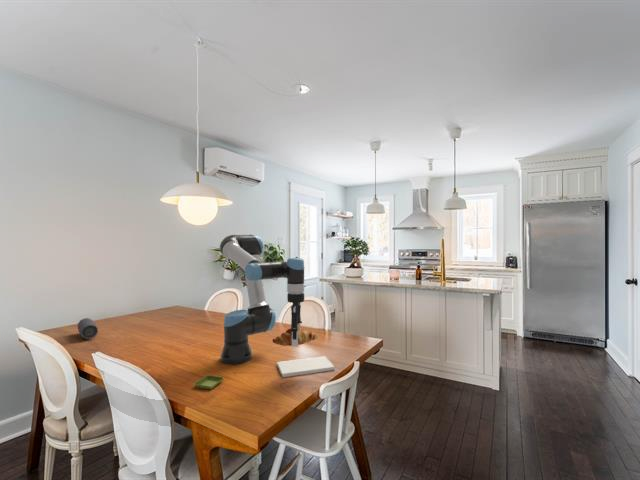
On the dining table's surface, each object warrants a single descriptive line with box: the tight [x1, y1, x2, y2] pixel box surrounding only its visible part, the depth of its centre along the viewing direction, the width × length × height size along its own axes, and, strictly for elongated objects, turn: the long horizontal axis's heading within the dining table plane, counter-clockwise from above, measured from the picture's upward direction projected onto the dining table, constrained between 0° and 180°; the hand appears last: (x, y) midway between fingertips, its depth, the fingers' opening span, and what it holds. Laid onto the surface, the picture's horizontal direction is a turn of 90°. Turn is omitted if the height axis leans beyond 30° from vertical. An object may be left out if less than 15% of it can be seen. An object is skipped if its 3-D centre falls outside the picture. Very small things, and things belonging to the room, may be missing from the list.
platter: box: [276, 355, 336, 378], centre depth 148 cm, size 24×14×2 cm, turn 107°
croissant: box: [272, 328, 318, 347], centre depth 142 cm, size 21×10×8 cm, turn 115°
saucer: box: [193, 374, 225, 390], centre depth 131 cm, size 9×9×2 cm
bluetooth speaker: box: [77, 317, 99, 340], centre depth 199 cm, size 23×9×10 cm, turn 42°
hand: (296, 342), depth 142 cm, fingers closed on croissant, 11 cm apart
